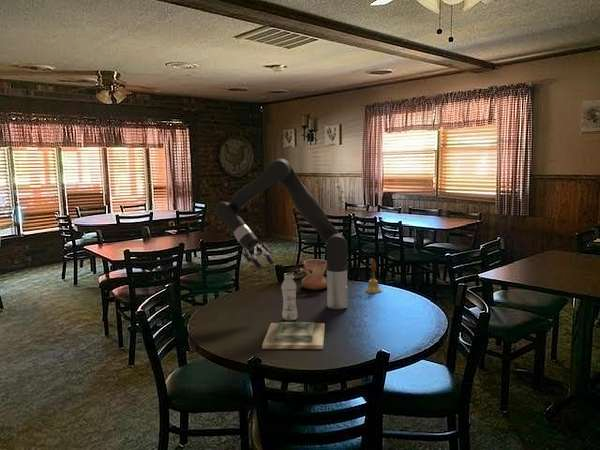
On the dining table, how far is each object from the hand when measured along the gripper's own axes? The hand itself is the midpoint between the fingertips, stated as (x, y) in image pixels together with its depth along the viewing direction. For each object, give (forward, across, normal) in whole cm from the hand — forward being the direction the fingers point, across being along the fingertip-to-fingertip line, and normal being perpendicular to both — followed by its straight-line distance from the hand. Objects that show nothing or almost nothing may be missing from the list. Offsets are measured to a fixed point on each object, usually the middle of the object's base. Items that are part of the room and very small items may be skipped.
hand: (266, 265), depth 206 cm
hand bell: (+33, +55, -2) cm, 64 cm away
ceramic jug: (+13, +45, +18) cm, 50 cm away
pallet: (+34, -15, -3) cm, 37 cm away
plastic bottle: (+25, -1, +7) cm, 26 cm away
